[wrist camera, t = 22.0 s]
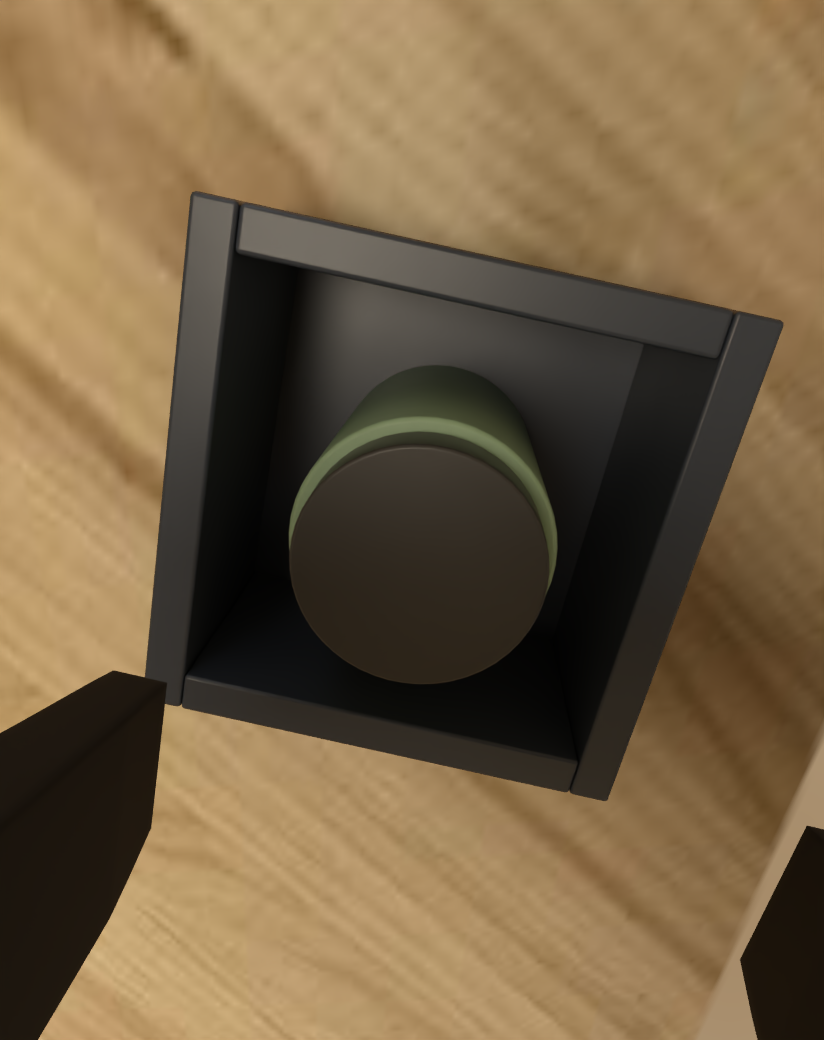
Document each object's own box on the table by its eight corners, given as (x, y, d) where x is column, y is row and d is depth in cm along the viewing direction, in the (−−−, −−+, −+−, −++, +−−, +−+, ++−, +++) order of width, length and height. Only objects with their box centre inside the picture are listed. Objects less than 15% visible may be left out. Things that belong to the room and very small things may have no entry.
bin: (685, 300, 15) (787, 321, 10) (570, 656, 18) (607, 803, 13) (278, 210, 15) (188, 188, 10) (229, 580, 18) (140, 700, 13)
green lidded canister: (555, 391, 15) (604, 472, 10) (500, 565, 17) (517, 725, 11) (365, 343, 15) (302, 395, 10) (326, 521, 17) (252, 660, 11)
